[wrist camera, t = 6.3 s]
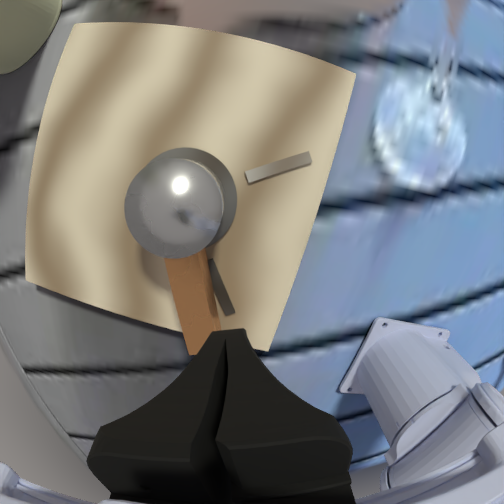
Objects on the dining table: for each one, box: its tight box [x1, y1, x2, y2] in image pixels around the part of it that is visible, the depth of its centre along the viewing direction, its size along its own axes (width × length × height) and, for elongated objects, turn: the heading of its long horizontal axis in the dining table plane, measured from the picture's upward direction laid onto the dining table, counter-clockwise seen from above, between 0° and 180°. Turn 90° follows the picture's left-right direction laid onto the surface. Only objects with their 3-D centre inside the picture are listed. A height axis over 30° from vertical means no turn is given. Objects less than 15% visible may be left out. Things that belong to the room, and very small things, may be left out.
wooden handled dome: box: [124, 158, 225, 355], centre depth 16 cm, size 11×5×3 cm, turn 8°
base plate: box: [25, 22, 356, 351], centre depth 18 cm, size 20×20×2 cm
